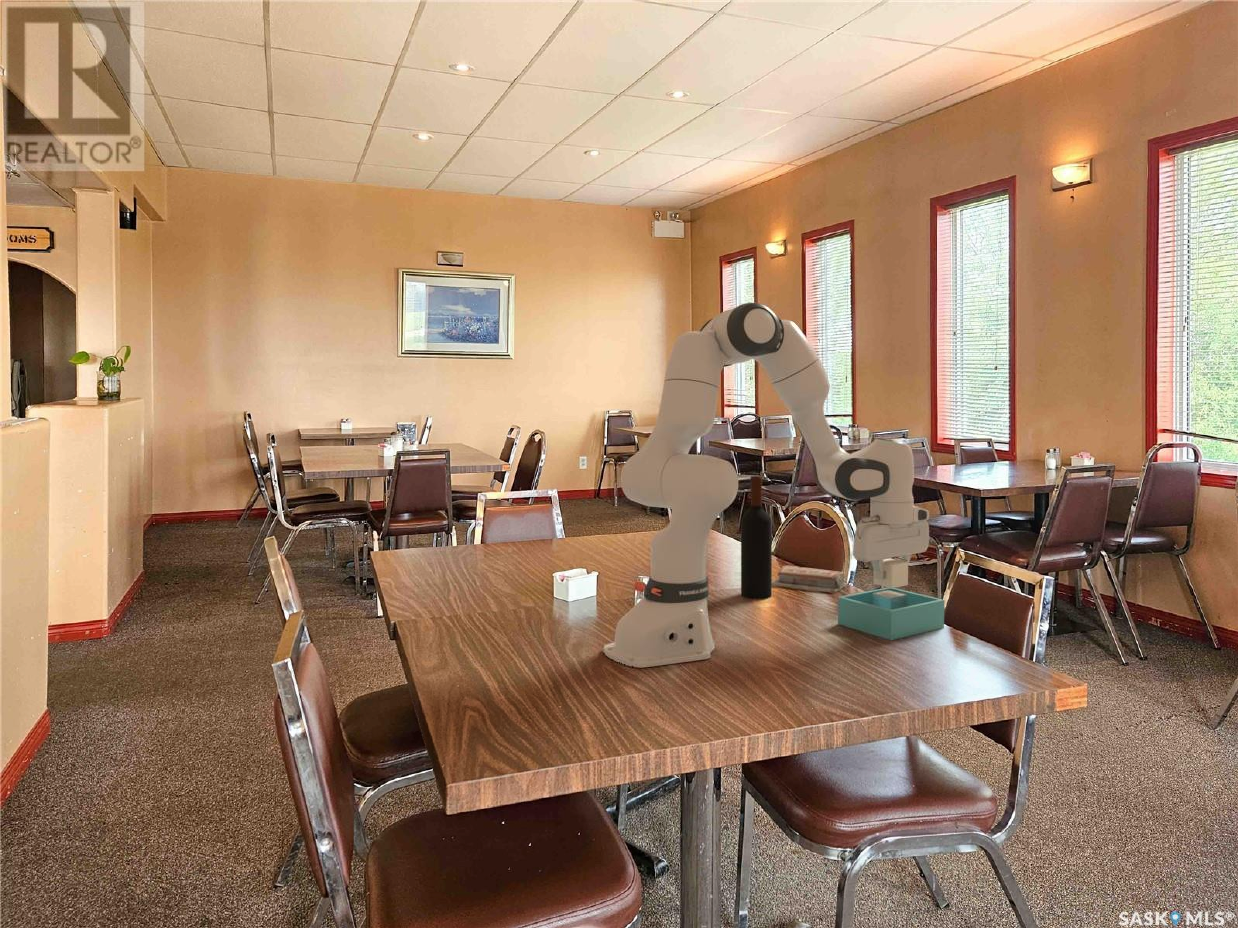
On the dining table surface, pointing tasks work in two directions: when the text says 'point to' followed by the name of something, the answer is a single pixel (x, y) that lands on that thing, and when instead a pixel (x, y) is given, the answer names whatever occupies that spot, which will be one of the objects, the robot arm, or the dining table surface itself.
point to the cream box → (893, 573)
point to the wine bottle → (756, 547)
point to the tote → (891, 614)
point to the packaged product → (810, 579)
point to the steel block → (889, 600)
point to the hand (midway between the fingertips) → (890, 577)
